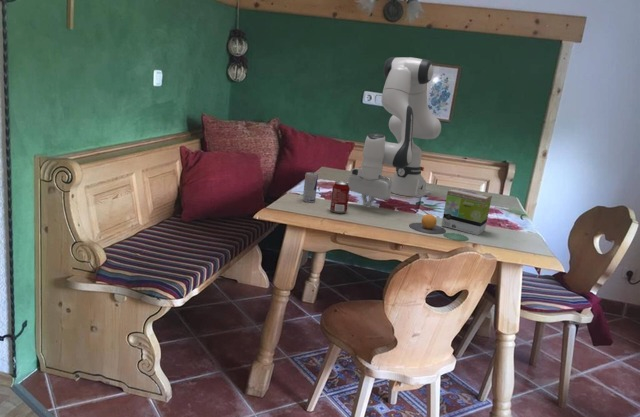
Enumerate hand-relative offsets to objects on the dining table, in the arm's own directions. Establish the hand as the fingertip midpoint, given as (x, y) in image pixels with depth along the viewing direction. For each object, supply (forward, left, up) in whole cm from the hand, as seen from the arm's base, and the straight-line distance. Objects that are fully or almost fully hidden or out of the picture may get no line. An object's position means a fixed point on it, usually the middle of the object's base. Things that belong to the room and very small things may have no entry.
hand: (366, 205), depth 218 cm
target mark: (+1, +30, -2) cm, 30 cm away
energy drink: (+13, -21, -2) cm, 25 cm away
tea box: (-13, +38, -2) cm, 40 cm away
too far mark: (+1, +42, -2) cm, 42 cm away
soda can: (+15, -3, -2) cm, 15 cm away
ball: (+1, +30, +1) cm, 30 cm away
